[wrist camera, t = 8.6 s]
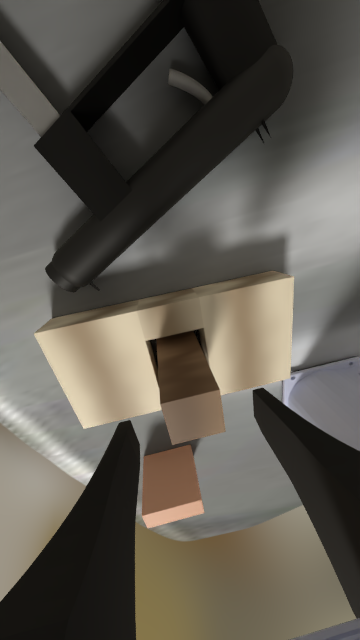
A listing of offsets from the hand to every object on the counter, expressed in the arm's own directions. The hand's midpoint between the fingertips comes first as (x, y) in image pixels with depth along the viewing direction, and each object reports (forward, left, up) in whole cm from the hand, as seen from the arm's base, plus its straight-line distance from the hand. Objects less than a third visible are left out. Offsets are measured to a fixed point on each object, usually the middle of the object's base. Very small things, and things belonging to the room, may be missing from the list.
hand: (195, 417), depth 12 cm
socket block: (0, 0, -9) cm, 9 cm away
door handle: (+1, -18, -10) cm, 20 cm away
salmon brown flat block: (+4, +16, -9) cm, 19 cm away
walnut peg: (0, 0, -9) cm, 9 cm away
